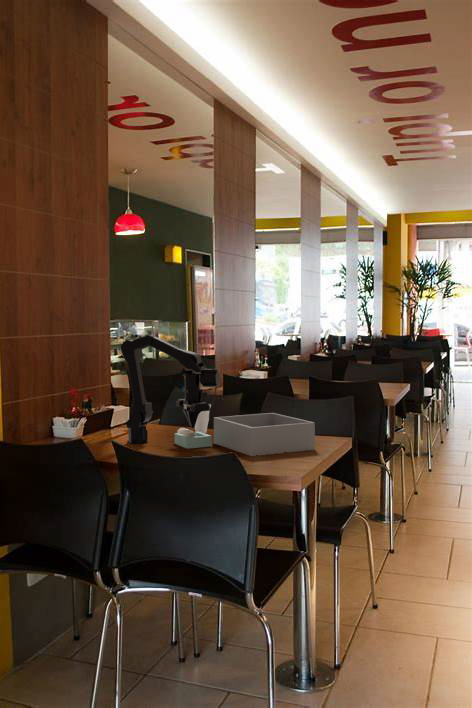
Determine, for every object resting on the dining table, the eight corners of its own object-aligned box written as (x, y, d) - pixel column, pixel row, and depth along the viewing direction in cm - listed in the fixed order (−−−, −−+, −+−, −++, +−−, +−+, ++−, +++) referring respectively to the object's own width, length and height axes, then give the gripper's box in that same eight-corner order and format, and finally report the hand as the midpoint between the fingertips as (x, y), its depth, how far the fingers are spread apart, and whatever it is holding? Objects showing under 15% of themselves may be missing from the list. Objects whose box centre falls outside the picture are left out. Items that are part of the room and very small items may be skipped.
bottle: (179, 441, 279) (189, 444, 272) (175, 431, 278) (184, 434, 271) (189, 435, 281) (198, 438, 274) (184, 425, 280) (194, 428, 273)
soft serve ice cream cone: (212, 431, 305) (212, 393, 305) (209, 434, 297) (209, 395, 296) (192, 431, 306) (192, 393, 305) (189, 434, 298) (189, 395, 297)
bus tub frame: (251, 456, 250) (251, 428, 250) (213, 443, 277) (213, 417, 276) (314, 450, 262) (314, 422, 261) (272, 437, 289) (272, 412, 288)
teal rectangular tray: (187, 448, 266) (187, 438, 265) (174, 443, 276) (174, 433, 276) (211, 446, 270) (211, 435, 270) (198, 441, 281) (198, 431, 281)
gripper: (222, 387, 268) (222, 429, 268) (201, 383, 284) (201, 423, 285) (195, 389, 262) (195, 431, 263) (175, 384, 279) (175, 425, 280)
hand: (192, 427), depth 273 cm, fingers closed
